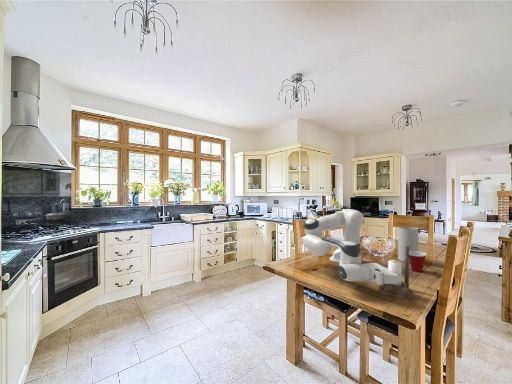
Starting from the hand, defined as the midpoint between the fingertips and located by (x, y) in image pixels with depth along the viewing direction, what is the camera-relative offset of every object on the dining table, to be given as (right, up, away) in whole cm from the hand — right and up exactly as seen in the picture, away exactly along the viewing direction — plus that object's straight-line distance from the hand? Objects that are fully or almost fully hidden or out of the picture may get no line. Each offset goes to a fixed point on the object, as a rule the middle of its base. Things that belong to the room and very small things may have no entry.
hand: (396, 272), depth 121 cm
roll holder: (-1, -10, 0) cm, 10 cm away
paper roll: (-1, -8, 0) cm, 8 cm away
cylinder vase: (+40, -10, +51) cm, 66 cm away
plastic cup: (+32, -10, +31) cm, 46 cm away
